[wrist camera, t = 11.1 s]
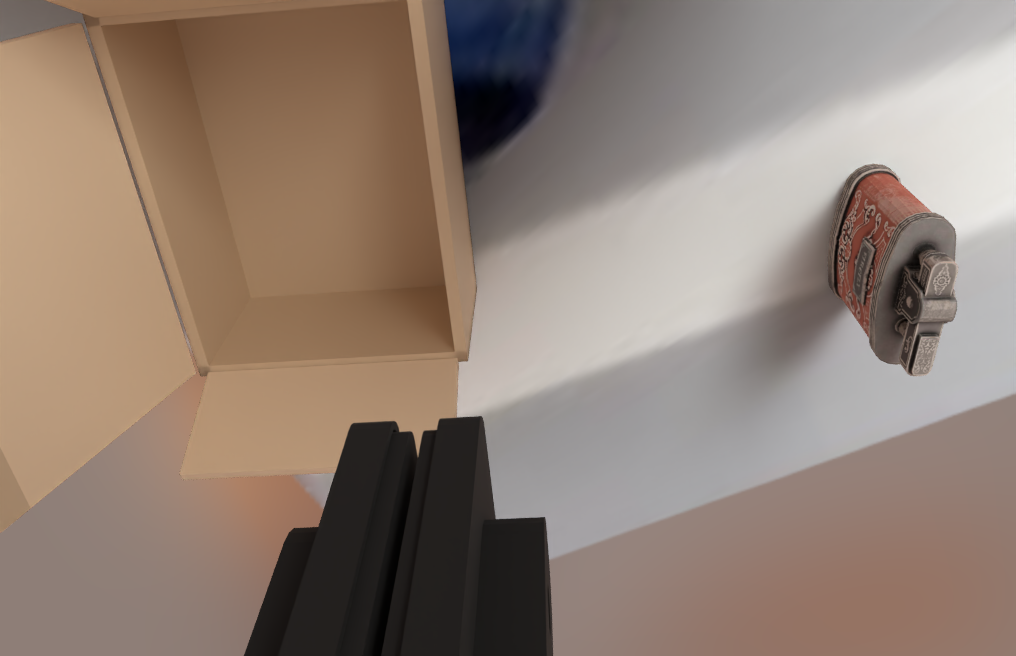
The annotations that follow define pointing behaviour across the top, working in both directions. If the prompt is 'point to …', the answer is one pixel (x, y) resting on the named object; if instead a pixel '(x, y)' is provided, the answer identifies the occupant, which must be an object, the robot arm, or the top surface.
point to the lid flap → (71, 274)
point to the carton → (299, 213)
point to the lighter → (893, 267)
